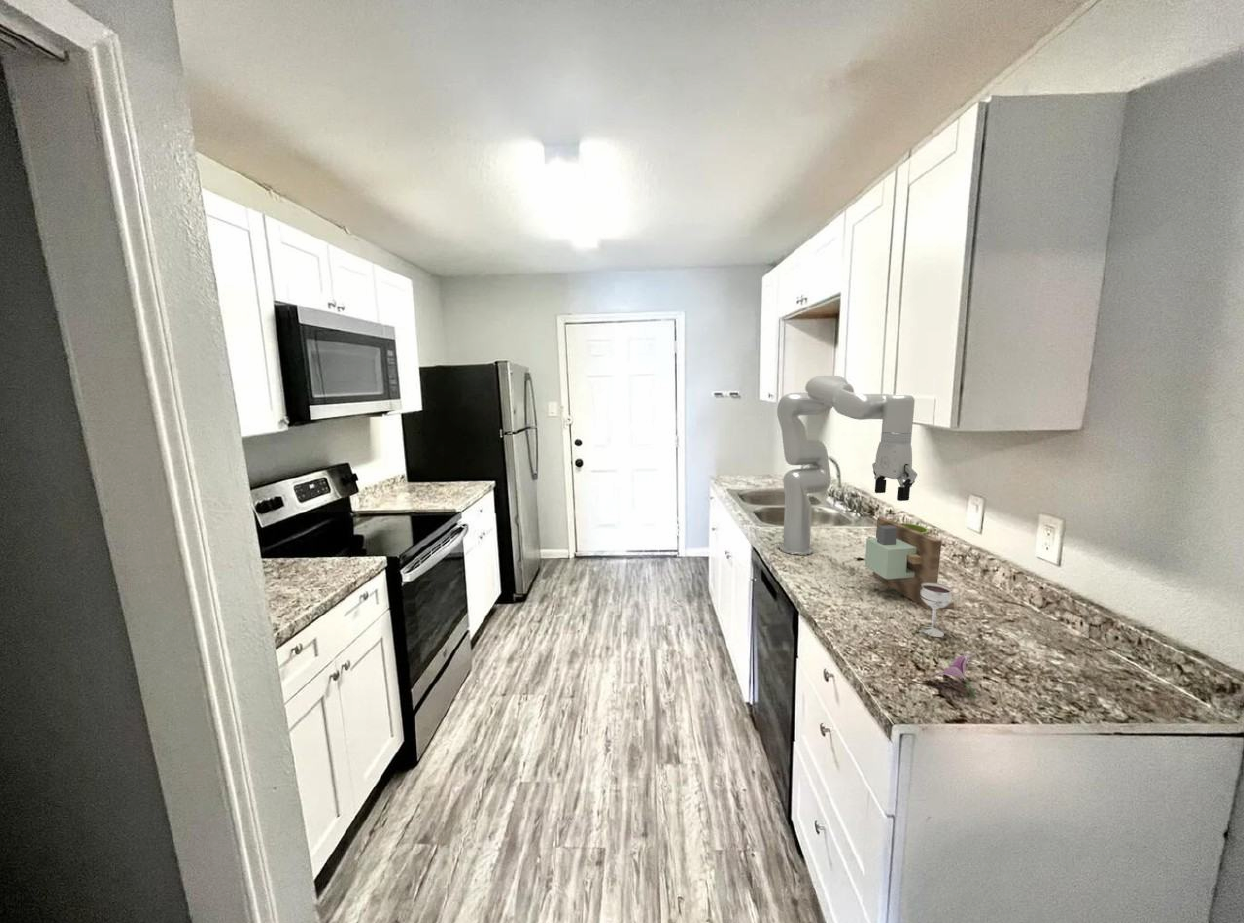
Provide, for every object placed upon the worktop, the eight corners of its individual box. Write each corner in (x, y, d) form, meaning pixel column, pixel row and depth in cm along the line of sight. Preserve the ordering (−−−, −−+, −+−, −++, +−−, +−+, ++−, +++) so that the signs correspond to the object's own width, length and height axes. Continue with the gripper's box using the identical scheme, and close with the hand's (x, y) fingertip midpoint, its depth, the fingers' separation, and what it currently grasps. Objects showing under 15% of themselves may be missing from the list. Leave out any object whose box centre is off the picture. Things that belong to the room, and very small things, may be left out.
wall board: (865, 576, 154) (870, 517, 151) (895, 574, 155) (900, 516, 152) (919, 610, 131) (926, 541, 128) (953, 607, 132) (961, 539, 129)
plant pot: (880, 554, 174) (883, 525, 172) (901, 549, 179) (904, 521, 177) (911, 565, 163) (914, 534, 161) (933, 559, 168) (936, 529, 166)
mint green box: (864, 566, 145) (867, 522, 142) (890, 564, 146) (893, 521, 144) (886, 579, 135) (889, 532, 133) (914, 577, 136) (918, 531, 134)
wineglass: (933, 640, 115) (938, 594, 113) (910, 627, 122) (914, 583, 120) (954, 636, 117) (959, 591, 115) (930, 623, 123) (935, 580, 122)
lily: (976, 680, 101) (954, 636, 104) (1018, 693, 90) (992, 643, 92) (925, 699, 101) (904, 654, 103) (960, 715, 89) (936, 664, 92)
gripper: (864, 435, 142) (860, 490, 145) (905, 442, 125) (900, 504, 128) (887, 435, 143) (883, 489, 145) (931, 441, 126) (925, 503, 128)
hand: (891, 496), depth 137 cm, fingers open, 9 cm apart
